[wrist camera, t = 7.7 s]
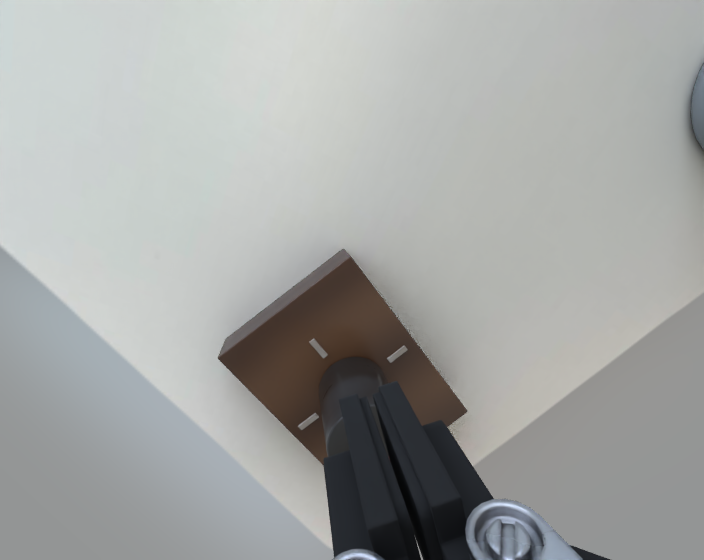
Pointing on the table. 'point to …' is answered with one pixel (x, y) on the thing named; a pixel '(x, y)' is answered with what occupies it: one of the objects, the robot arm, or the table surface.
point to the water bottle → (698, 108)
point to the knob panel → (330, 351)
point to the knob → (341, 383)
